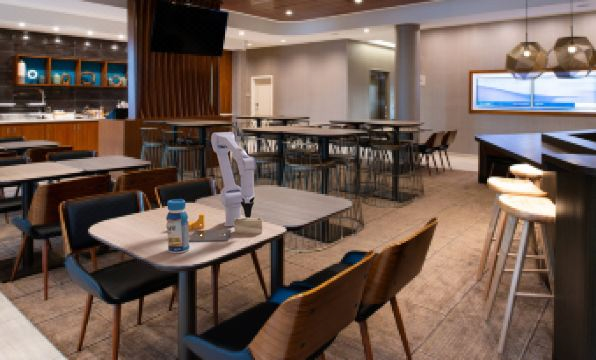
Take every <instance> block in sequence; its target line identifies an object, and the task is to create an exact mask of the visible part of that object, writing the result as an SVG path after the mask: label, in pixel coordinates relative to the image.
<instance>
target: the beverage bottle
mask: <svg viewBox="0 0 596 360" xmlns="http://www.w3.org/2000/svg"><path fill="white" fill-rule="evenodd" d="M166 205H167V206H166V207H167V210H168V213H167V214H166V218H165V219H166V225H165V226H166V231H167V233H166V234H167V245H168V246H167V247H168V249H167V250H168V252H169V253H171V254H182V253H185V252H188V251H189V250H190V248H191V247H190V242H189V240H190V237H189V235H190V234H189V231H190V230H188V226H189V222H190V221H189V220H188V219H189V216H188V213H187V211H185V209H186V201H185V199H183V198H177V199H176V198H175V199H169V200H167V203H166Z"/></svg>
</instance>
